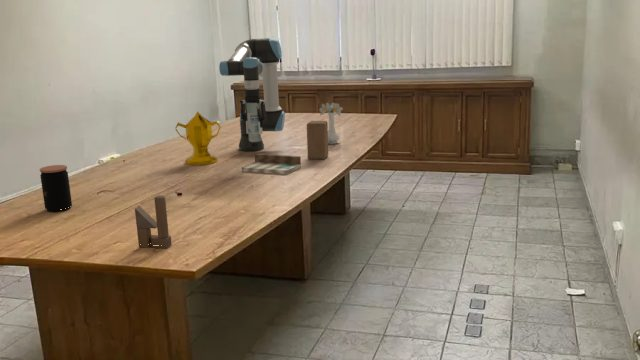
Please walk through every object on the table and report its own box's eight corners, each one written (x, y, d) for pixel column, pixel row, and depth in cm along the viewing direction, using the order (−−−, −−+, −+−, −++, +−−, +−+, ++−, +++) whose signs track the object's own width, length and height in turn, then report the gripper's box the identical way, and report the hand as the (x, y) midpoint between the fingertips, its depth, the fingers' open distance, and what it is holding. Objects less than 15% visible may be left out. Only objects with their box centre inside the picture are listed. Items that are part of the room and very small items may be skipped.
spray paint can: (251, 142, 326) (249, 103, 322) (246, 140, 332) (244, 102, 327) (263, 141, 329) (261, 102, 324) (258, 139, 335) (256, 101, 330)
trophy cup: (176, 161, 358) (172, 111, 351) (219, 156, 366) (216, 107, 359) (181, 167, 342) (176, 115, 335) (226, 162, 350) (222, 111, 343)
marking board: (241, 171, 328) (241, 159, 327) (256, 164, 343) (256, 153, 341) (287, 174, 318) (286, 162, 317) (300, 167, 332) (300, 156, 331)
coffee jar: (50, 206, 275) (44, 165, 271) (75, 204, 276) (70, 164, 272) (41, 213, 265) (35, 171, 261) (68, 212, 266) (62, 170, 262)
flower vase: (345, 140, 403) (344, 100, 396) (338, 145, 385) (337, 104, 379) (325, 139, 406) (324, 100, 400) (317, 145, 389) (316, 104, 383)
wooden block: (325, 159, 349) (324, 123, 344) (307, 159, 351) (306, 123, 346) (328, 155, 359) (327, 120, 354) (311, 155, 361) (310, 120, 356)
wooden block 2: (143, 244, 224) (137, 194, 220) (172, 245, 222) (167, 195, 218) (138, 247, 221) (133, 197, 216) (167, 248, 219) (163, 198, 214)
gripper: (231, 89, 325) (234, 133, 330) (265, 89, 317) (267, 135, 323) (239, 87, 331) (241, 131, 337) (272, 88, 324) (274, 132, 329)
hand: (254, 133), depth 330 cm, fingers closed on spray paint can, 6 cm apart
